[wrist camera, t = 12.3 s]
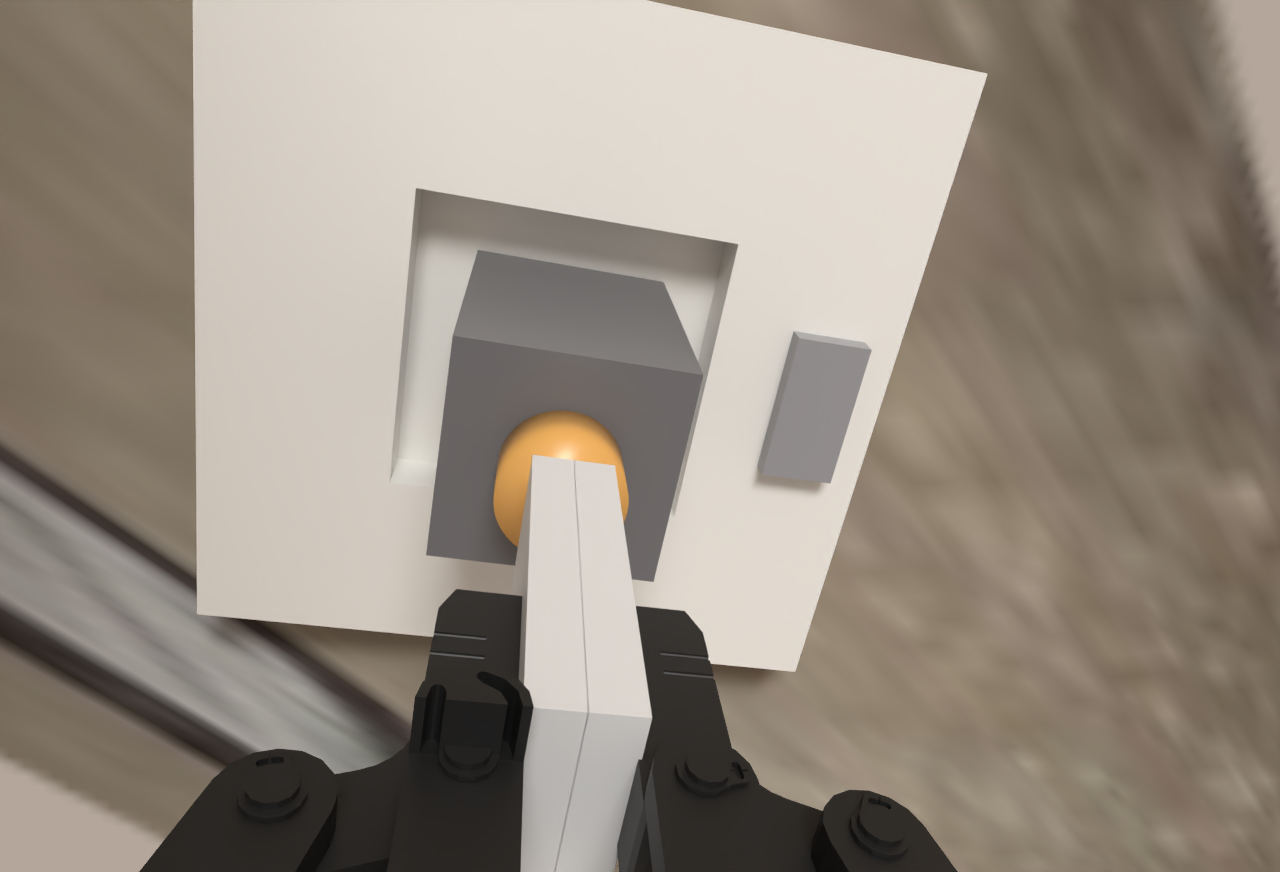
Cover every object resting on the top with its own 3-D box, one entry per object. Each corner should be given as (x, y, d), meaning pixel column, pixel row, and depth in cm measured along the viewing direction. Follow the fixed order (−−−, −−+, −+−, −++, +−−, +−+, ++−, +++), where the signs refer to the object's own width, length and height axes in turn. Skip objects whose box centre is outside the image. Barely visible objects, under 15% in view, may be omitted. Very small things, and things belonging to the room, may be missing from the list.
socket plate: (223, -88, 21) (181, -101, 18) (953, 69, 24) (998, 75, 21) (219, 575, 28) (189, 626, 26) (780, 633, 31) (799, 684, 28)
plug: (477, 249, 24) (444, 362, 16) (663, 281, 25) (716, 403, 17) (455, 422, 26) (417, 595, 18) (628, 446, 27) (661, 622, 19)
